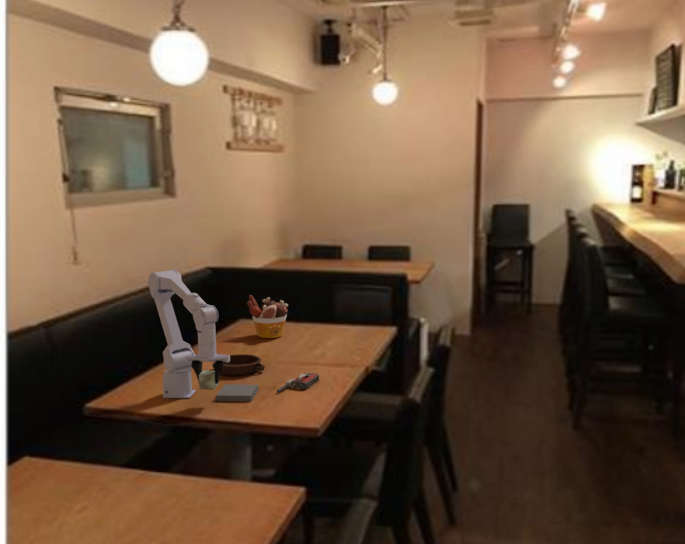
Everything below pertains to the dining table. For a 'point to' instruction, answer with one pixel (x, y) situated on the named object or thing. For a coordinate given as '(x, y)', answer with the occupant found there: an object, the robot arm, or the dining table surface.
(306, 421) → the dining table surface
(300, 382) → the walkie-talkie
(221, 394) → the stand
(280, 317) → the bucket of meat
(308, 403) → the dining table surface
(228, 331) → the dining table surface
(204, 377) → the cube
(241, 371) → the dish
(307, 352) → the dining table surface
